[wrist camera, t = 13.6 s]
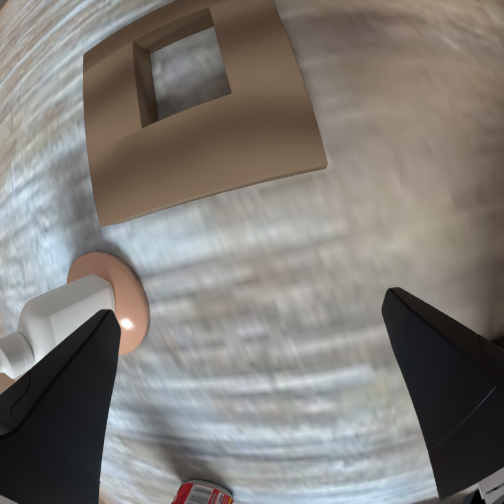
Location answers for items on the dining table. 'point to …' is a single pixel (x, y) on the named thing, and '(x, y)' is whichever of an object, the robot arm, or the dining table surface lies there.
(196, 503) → the soda can
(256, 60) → the holder block
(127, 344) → the terracotta coaster
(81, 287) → the eye dropper bottle
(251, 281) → the dining table surface
